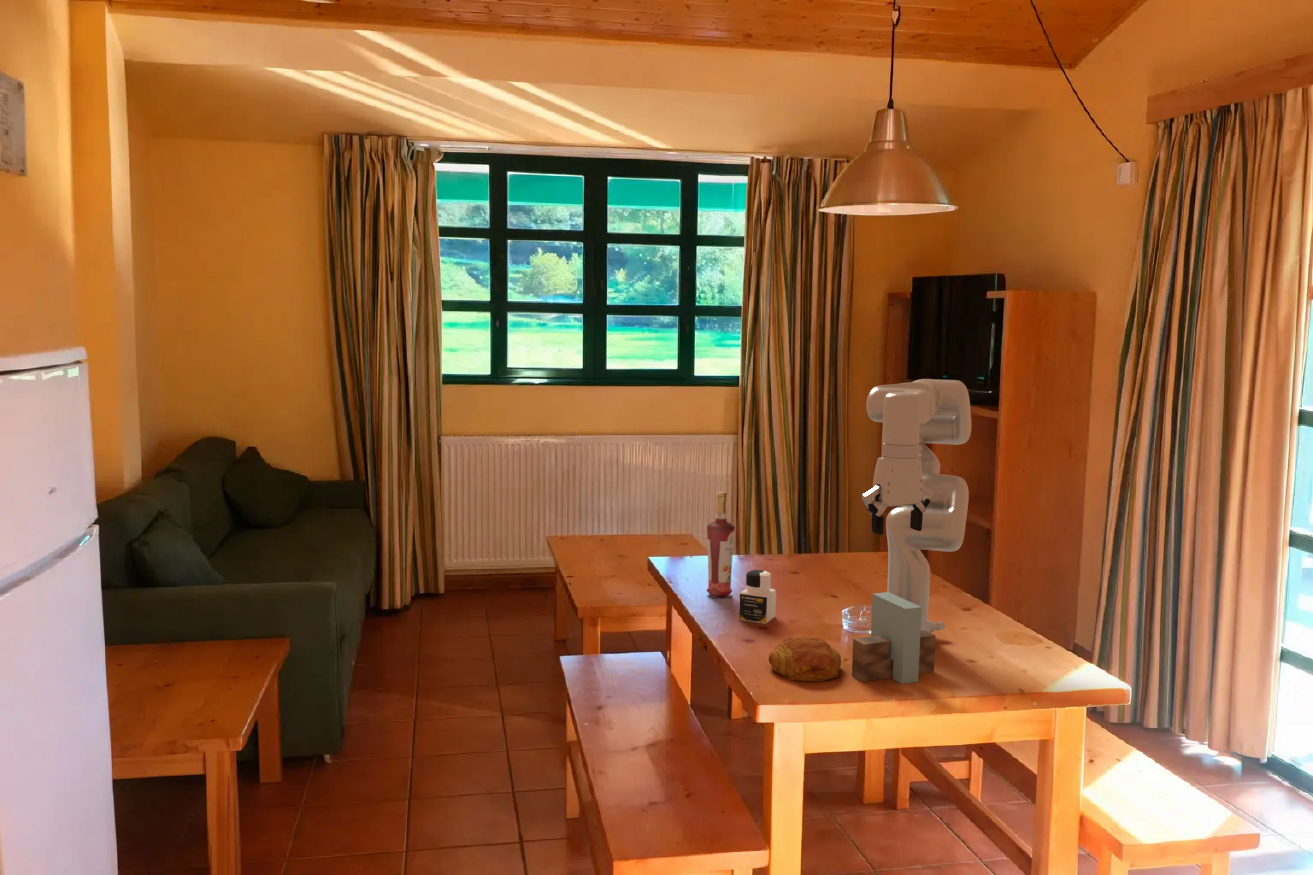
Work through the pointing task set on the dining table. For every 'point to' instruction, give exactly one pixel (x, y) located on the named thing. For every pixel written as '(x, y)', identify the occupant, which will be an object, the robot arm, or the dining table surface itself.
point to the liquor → (720, 551)
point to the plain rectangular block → (898, 633)
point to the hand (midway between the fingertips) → (896, 531)
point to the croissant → (805, 659)
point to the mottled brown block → (887, 657)
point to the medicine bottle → (757, 598)
